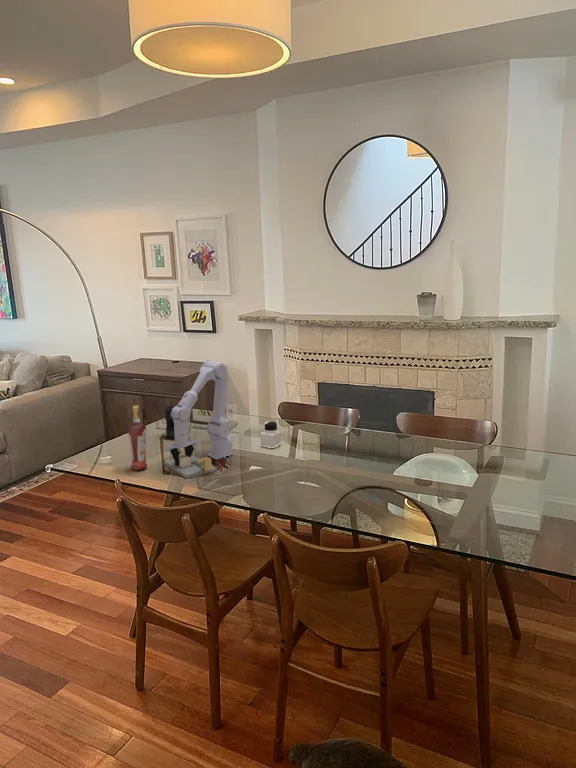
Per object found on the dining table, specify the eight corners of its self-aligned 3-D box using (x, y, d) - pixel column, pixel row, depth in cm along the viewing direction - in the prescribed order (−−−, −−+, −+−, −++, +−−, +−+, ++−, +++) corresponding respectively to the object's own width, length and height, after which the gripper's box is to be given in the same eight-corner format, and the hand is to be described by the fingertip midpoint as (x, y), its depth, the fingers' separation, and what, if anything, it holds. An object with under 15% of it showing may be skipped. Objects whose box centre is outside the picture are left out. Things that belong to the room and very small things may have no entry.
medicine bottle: (280, 445, 286) (280, 421, 283) (272, 449, 280) (272, 425, 277) (268, 443, 289) (268, 419, 287) (260, 447, 284) (260, 423, 281)
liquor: (143, 472, 250) (140, 408, 244) (127, 471, 252) (123, 407, 246) (150, 466, 257) (147, 404, 251) (135, 465, 259) (131, 403, 253)
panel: (193, 458, 268) (193, 455, 267) (215, 471, 252) (215, 467, 252) (164, 464, 260) (164, 461, 259) (186, 478, 244) (186, 475, 244)
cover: (183, 461, 260) (182, 452, 259) (190, 465, 254) (190, 456, 253) (174, 463, 257) (173, 454, 256) (181, 467, 252) (181, 458, 251)
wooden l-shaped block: (207, 467, 252) (207, 456, 251) (211, 469, 250) (211, 458, 249) (195, 470, 249) (194, 459, 248) (199, 472, 246) (198, 461, 245)
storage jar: (184, 440, 293) (183, 411, 290) (164, 439, 293) (163, 410, 290) (187, 434, 303) (186, 405, 300) (168, 433, 303) (167, 405, 300)
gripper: (192, 428, 260) (192, 457, 263) (161, 434, 251) (162, 464, 254) (199, 432, 254) (200, 462, 257) (168, 438, 246) (170, 469, 249)
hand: (182, 463), depth 256 cm, fingers closed on cover, 4 cm apart
